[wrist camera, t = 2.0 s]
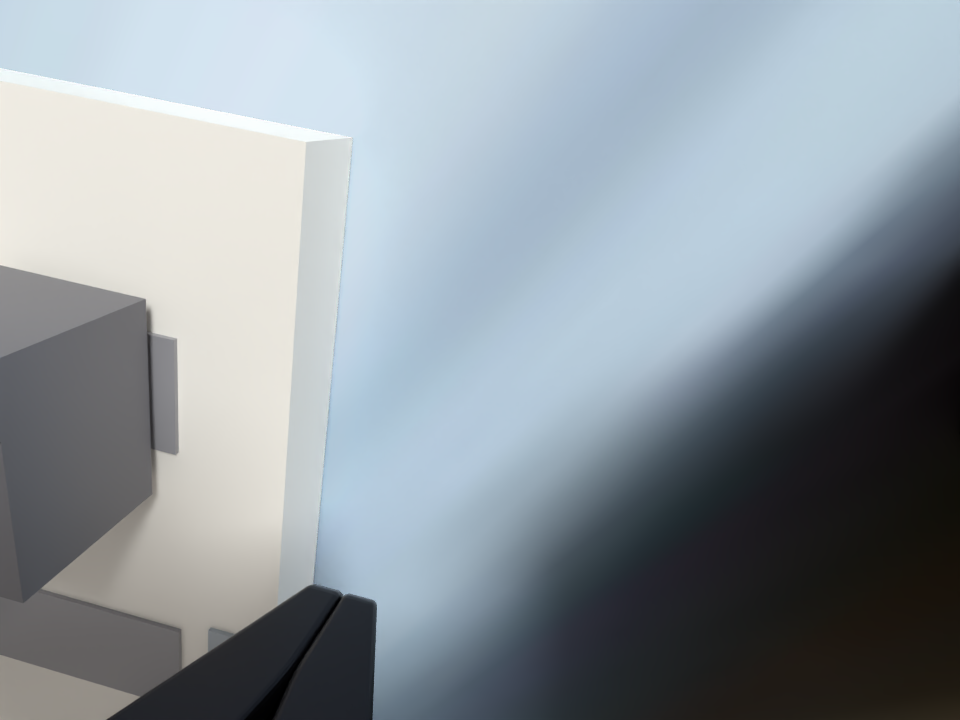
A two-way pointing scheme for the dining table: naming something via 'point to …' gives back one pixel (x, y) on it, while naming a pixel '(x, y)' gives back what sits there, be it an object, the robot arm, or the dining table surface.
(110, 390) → the grey plastic block
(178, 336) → the switch board
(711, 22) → the dining table surface
